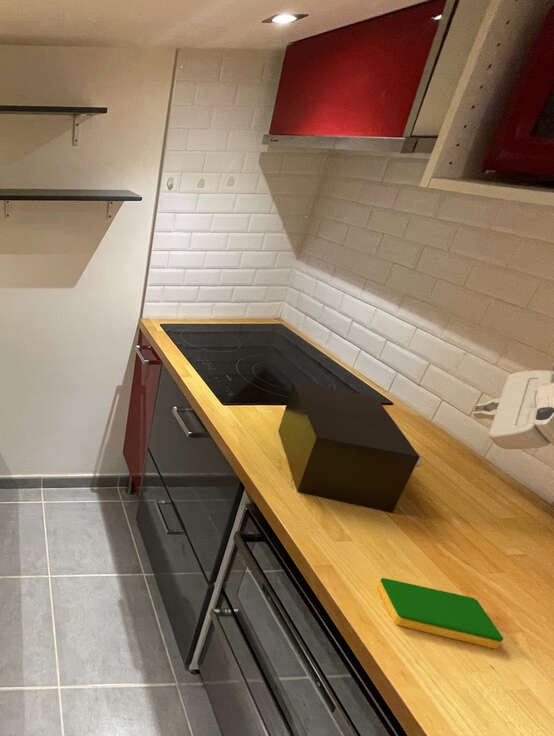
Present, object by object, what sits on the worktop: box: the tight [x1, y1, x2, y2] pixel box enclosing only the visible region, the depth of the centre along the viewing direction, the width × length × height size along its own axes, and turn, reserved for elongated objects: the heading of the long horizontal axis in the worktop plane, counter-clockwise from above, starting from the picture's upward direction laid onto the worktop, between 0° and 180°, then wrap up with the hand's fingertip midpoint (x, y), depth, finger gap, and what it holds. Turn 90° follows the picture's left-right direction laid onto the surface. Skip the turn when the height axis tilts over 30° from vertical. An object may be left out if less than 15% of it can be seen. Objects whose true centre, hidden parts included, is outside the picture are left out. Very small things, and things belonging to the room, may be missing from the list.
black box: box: [278, 382, 422, 514], centre depth 104 cm, size 20×24×15 cm
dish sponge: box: [376, 577, 505, 649], centre depth 73 cm, size 7×14×2 cm, turn 74°
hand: (475, 411), depth 100 cm, fingers closed
